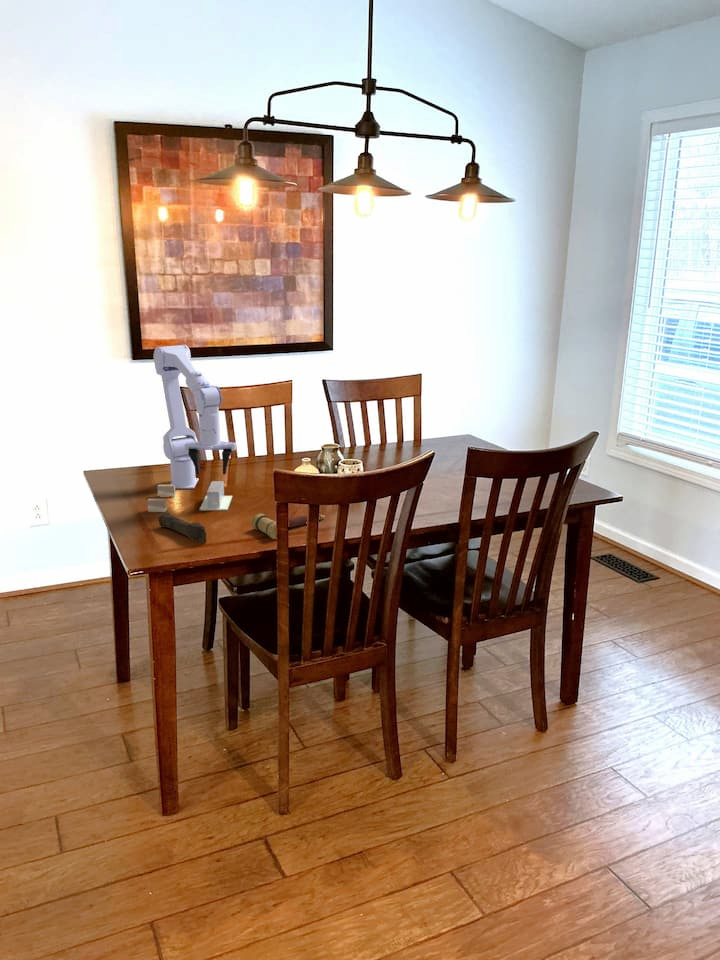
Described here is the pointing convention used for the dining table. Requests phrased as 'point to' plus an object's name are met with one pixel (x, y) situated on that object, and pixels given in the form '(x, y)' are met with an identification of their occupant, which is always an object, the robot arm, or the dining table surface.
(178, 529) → the hand tool
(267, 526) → the gavel
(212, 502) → the steel bar
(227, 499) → the mat
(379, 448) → the dining table surface
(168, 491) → the blocks
